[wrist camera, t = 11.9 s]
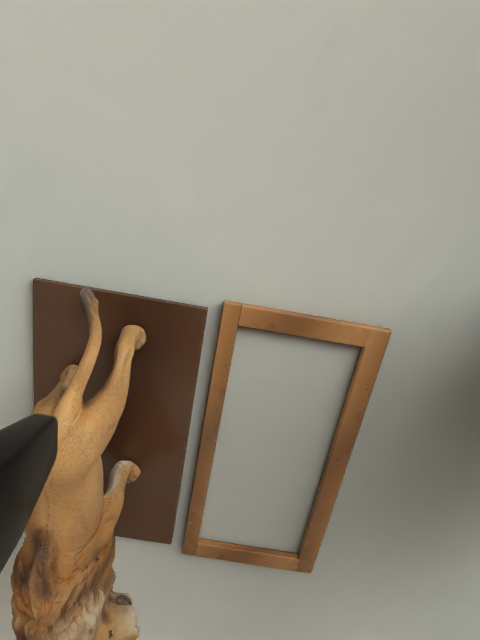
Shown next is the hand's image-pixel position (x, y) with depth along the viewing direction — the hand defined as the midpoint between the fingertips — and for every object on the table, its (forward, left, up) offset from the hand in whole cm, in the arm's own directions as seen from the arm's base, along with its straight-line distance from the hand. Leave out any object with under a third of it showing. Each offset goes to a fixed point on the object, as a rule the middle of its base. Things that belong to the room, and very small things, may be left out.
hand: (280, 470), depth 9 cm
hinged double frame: (+2, +9, -12) cm, 15 cm away
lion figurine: (+6, +9, -12) cm, 16 cm away
